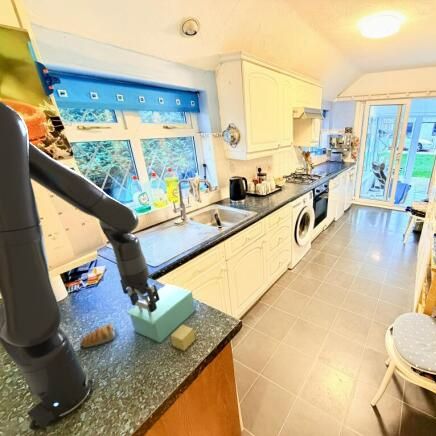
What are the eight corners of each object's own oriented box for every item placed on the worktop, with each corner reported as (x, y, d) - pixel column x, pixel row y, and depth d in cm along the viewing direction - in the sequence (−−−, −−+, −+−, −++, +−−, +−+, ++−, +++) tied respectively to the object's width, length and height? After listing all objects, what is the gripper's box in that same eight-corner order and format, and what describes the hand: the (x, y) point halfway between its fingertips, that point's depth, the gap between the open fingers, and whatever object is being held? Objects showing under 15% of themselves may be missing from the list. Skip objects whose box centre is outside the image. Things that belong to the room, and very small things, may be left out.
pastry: (81, 353, 77) (78, 345, 76) (82, 340, 82) (78, 331, 81) (116, 338, 83) (113, 330, 81) (114, 326, 88) (112, 318, 86)
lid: (152, 325, 77) (149, 313, 76) (126, 314, 82) (123, 302, 80) (192, 293, 92) (190, 282, 91) (168, 285, 97) (166, 274, 95)
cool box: (160, 342, 81) (154, 323, 78) (135, 331, 86) (129, 312, 82) (195, 310, 96) (192, 293, 92) (172, 302, 100) (168, 285, 97)
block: (184, 351, 78) (181, 340, 77) (173, 346, 80) (170, 335, 78) (195, 339, 83) (193, 328, 81) (184, 334, 84) (182, 324, 83)
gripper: (106, 268, 74) (119, 308, 80) (137, 279, 69) (149, 321, 75) (129, 257, 80) (140, 295, 86) (159, 266, 75) (169, 305, 81)
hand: (144, 307), depth 81 cm, fingers open, 8 cm apart
